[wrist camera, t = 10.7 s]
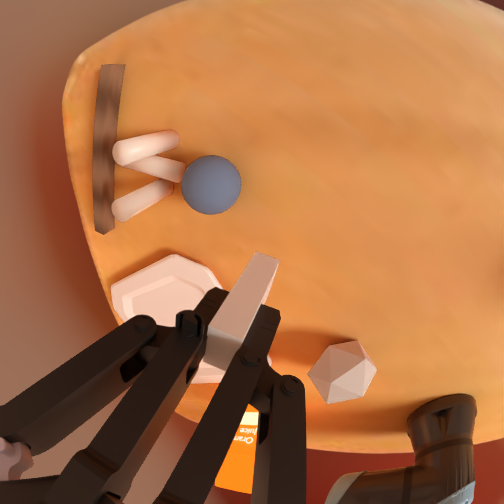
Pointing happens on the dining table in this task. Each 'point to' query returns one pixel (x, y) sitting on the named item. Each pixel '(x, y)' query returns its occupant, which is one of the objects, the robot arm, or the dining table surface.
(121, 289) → the plate
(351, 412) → the dining table surface
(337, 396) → the die
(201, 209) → the ball
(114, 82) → the board
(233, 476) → the orange juice
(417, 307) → the dining table surface
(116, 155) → the pin
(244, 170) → the dining table surface
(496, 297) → the dining table surface
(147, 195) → the pin
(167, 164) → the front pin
